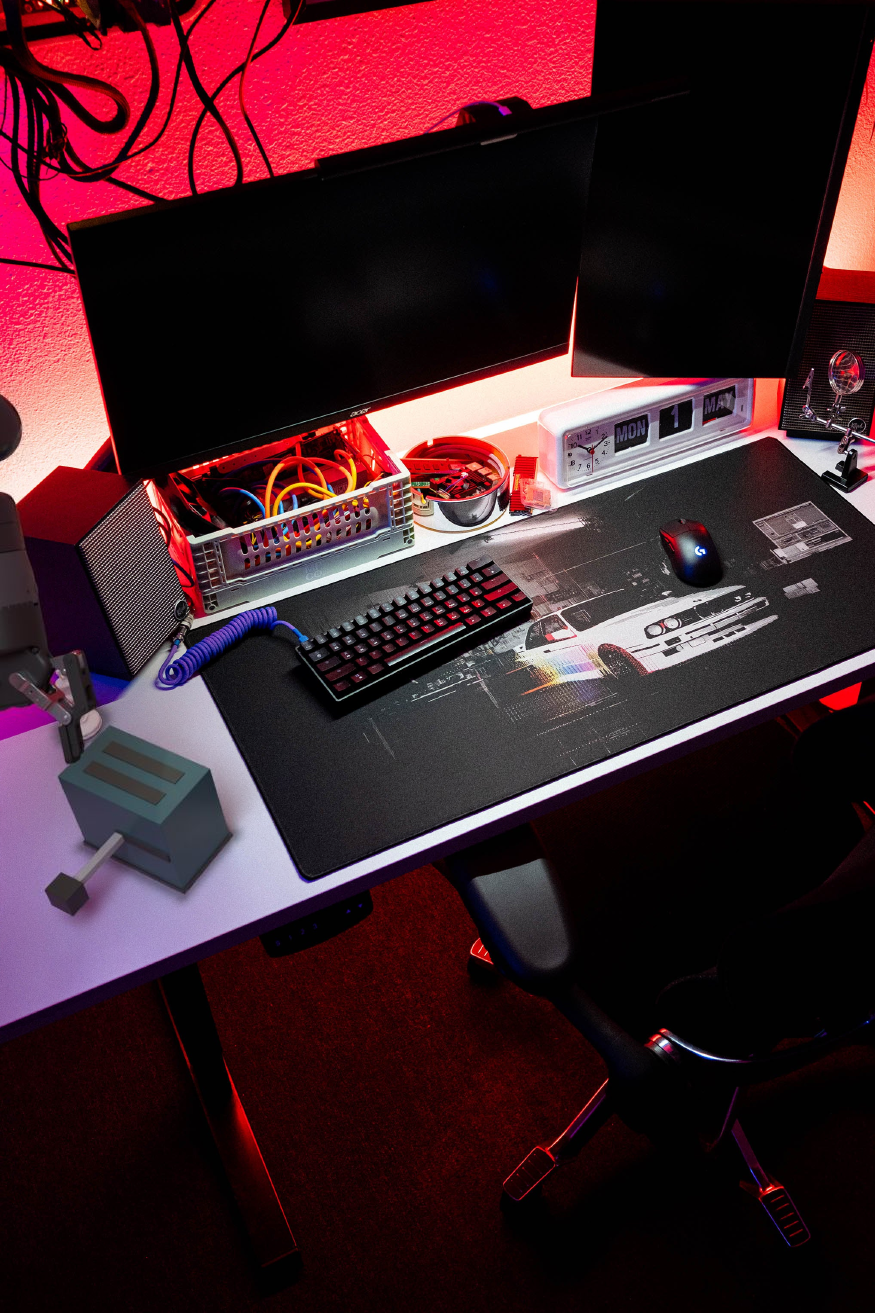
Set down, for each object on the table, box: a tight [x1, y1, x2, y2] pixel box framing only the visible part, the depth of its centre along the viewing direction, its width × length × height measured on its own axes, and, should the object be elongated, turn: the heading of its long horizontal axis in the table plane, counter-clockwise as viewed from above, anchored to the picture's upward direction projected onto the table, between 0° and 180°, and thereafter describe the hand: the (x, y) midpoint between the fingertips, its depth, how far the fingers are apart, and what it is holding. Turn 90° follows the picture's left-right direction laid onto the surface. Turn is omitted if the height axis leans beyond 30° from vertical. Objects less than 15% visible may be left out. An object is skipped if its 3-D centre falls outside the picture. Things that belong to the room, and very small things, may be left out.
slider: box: [43, 832, 124, 917], centre depth 118 cm, size 9×3×3 cm, turn 153°
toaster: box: [57, 724, 234, 895], centre depth 124 cm, size 8×14×12 cm, turn 63°
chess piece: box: [54, 669, 103, 740], centre depth 138 cm, size 5×5×10 cm
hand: (29, 769), depth 108 cm, fingers open, 8 cm apart
